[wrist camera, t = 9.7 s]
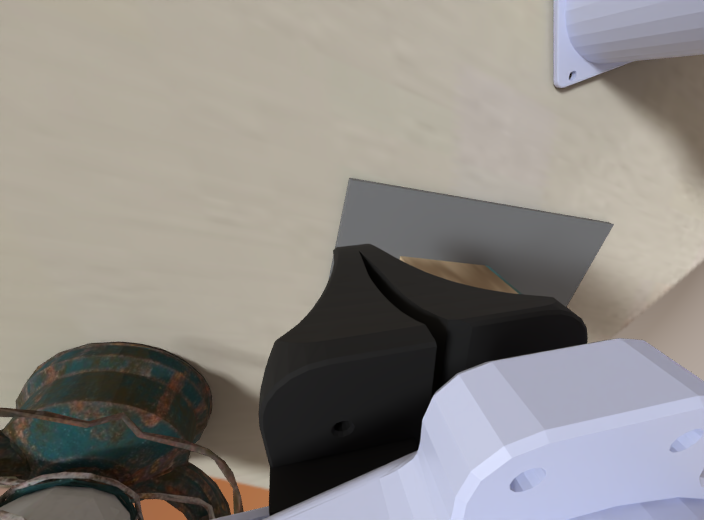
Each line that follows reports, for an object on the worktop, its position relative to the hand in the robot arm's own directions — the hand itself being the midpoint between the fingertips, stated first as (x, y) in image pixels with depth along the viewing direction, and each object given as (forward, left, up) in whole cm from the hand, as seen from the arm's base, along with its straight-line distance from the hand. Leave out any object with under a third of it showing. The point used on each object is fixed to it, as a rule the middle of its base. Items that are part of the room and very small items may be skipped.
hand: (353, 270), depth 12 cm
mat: (-8, +11, -10) cm, 17 cm away
